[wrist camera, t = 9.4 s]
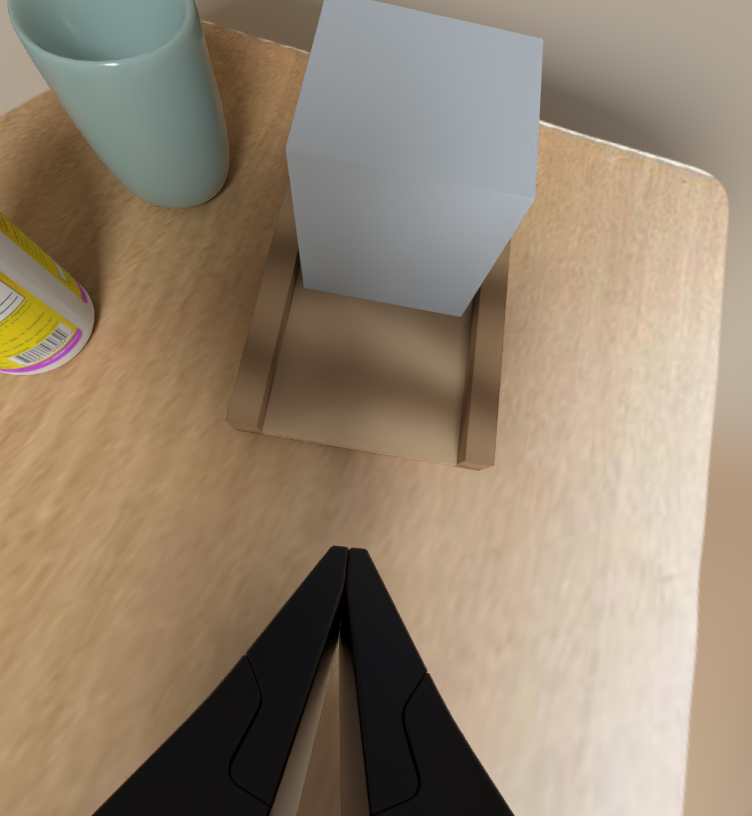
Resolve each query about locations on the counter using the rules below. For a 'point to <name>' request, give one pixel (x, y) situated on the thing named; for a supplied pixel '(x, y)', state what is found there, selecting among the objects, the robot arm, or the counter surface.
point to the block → (411, 153)
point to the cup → (135, 90)
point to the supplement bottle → (38, 307)
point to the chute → (370, 366)
